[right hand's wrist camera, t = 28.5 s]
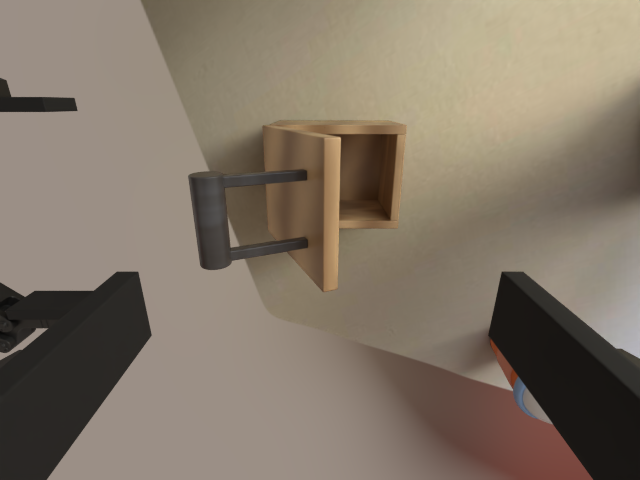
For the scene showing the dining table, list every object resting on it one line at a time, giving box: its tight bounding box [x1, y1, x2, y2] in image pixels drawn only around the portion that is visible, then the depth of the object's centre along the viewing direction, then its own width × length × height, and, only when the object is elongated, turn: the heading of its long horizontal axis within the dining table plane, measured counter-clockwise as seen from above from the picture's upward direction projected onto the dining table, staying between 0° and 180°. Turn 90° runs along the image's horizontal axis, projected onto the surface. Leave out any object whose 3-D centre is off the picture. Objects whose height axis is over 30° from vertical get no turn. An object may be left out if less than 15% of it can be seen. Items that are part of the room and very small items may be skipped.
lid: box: [188, 125, 341, 292], centre depth 26 cm, size 13×10×8 cm
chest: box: [270, 120, 407, 228], centre depth 38 cm, size 13×10×9 cm
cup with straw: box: [490, 338, 553, 424], centre depth 43 cm, size 9×9×18 cm
